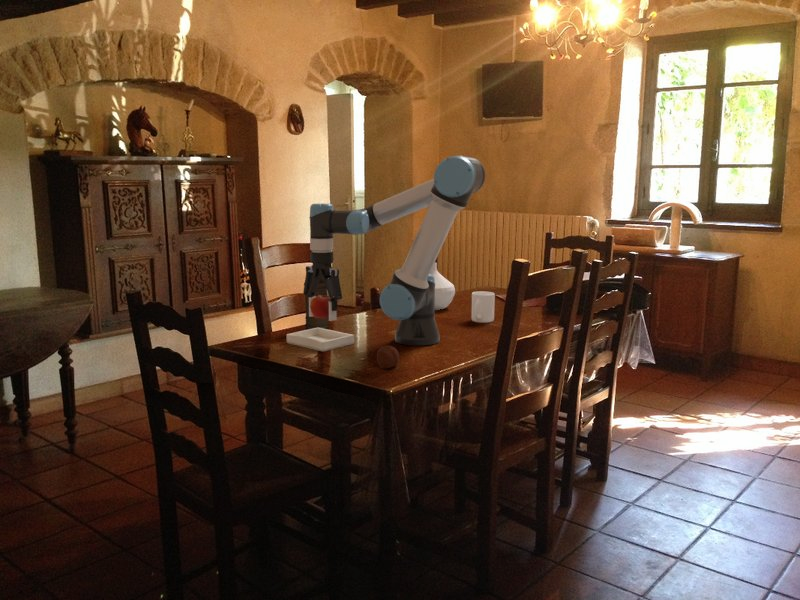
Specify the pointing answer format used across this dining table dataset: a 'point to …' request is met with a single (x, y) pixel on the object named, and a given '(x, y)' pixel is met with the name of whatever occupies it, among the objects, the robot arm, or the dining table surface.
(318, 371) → the dining table surface
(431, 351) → the dining table surface
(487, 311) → the mug
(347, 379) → the dining table surface
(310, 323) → the container
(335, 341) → the dish
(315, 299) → the tomato
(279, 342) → the dining table surface
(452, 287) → the vase
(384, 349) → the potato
